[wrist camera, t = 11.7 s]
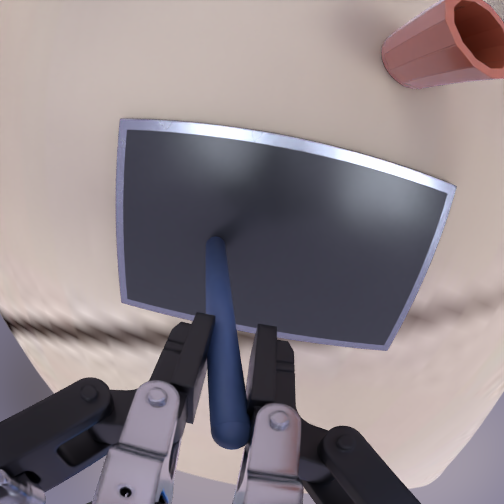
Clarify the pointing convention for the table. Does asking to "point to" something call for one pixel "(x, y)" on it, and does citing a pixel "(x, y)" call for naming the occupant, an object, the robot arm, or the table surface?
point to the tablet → (274, 229)
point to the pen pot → (447, 45)
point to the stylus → (224, 355)
